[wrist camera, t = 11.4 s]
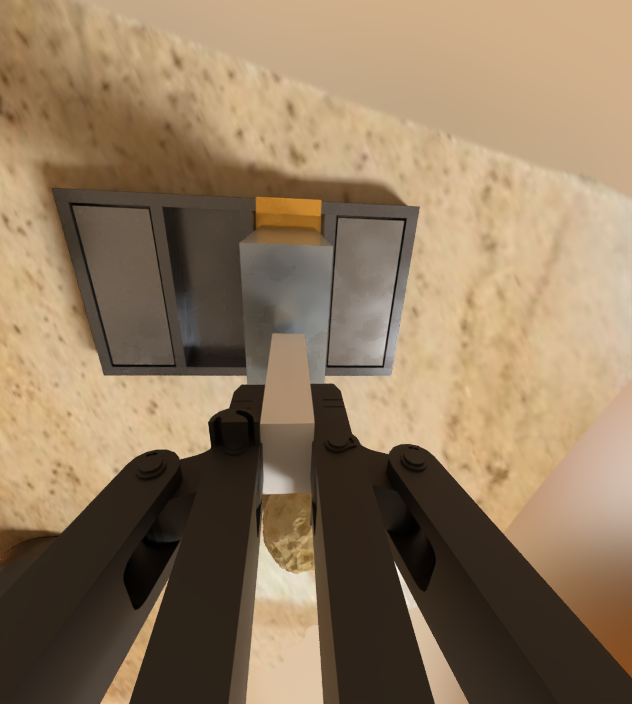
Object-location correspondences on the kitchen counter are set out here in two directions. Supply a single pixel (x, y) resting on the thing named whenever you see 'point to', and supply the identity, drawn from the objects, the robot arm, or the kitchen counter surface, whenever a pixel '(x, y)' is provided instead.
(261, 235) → the panel
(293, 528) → the decorative item
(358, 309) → the rack
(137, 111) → the kitchen counter surface
